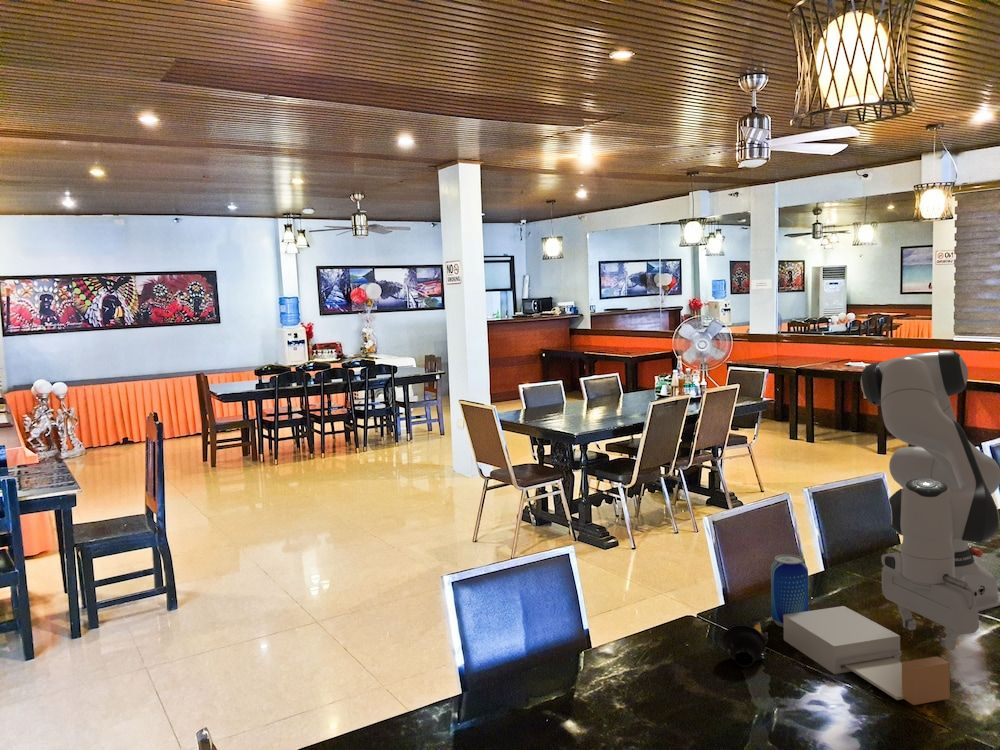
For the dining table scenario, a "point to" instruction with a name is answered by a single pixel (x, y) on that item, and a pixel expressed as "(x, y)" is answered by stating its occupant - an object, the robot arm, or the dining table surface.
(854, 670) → the tan-tipped white bar
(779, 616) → the beer can
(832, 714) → the dining table surface
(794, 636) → the block
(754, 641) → the fried shrimp in bowl
